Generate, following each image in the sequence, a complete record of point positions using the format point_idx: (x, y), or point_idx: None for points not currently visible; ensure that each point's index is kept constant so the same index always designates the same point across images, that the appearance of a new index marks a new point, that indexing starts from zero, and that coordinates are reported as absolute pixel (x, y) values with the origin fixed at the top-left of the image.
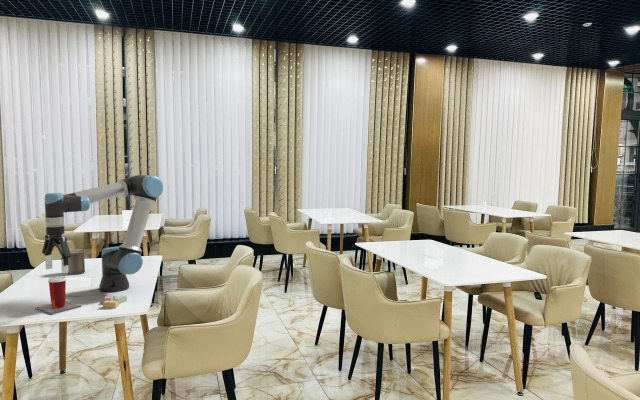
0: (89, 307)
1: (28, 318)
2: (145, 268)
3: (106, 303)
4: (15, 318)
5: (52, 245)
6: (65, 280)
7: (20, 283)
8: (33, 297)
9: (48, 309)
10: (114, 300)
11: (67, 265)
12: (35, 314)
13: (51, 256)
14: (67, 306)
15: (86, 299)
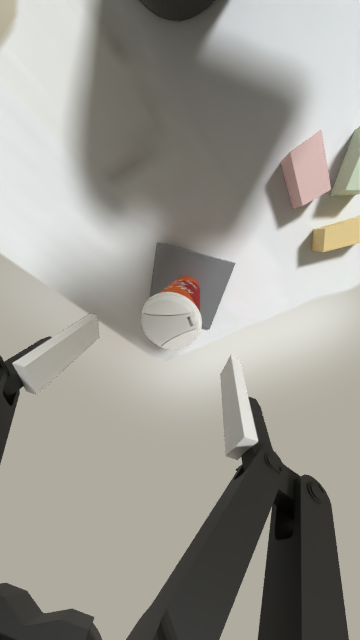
0: (262, 258)
1: (185, 350)
2: None
3: (335, 248)
4: (164, 353)
5: (14, 589)
6: (195, 308)
7: None
8: (50, 234)
9: None
10: (348, 191)
11: (243, 389)
12: None
13: (37, 361)
14: (206, 283)
15: (195, 186)
